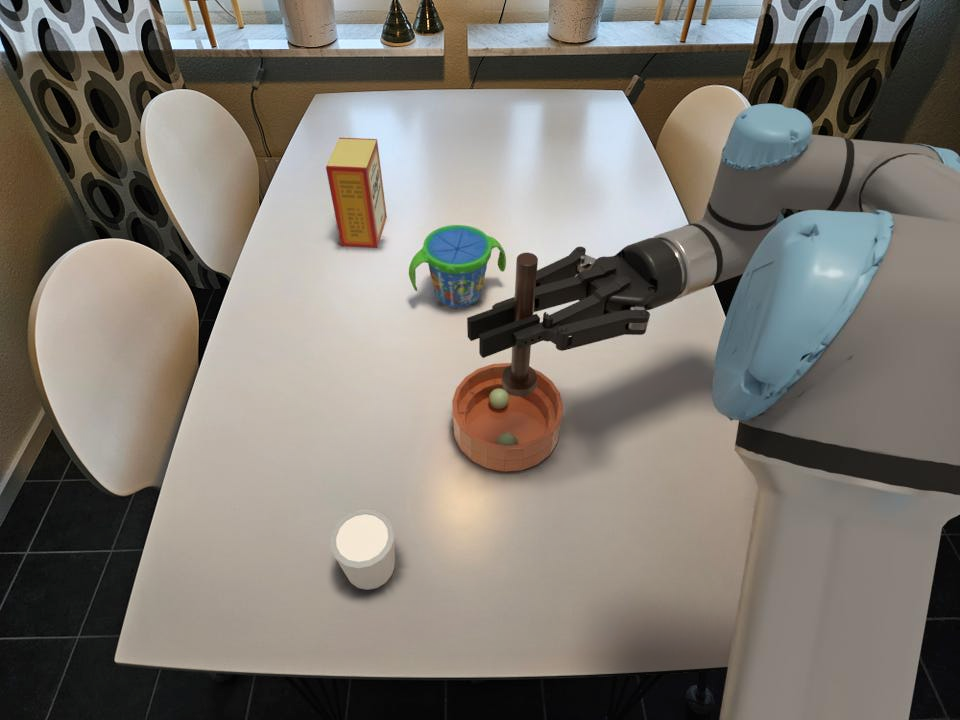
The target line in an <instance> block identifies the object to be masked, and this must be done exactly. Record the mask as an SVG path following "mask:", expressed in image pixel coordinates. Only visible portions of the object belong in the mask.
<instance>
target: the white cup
mask: <svg viewBox="0 0 960 720" xmlns="http://www.w3.org/2000/svg"><path fill="white" fill-rule="evenodd" d="M329 540H330V541H329V542H330V551H331V553H332V554H333V556H334V558H335V559H336V561H337V563H338V564H339V566H340V568H341V570H342V571H343V573H344V575H345V576H346V577H347V579H348V581H349V583H351V584H352V585H353V586H354V587H356V588H357V589H362V590H366V591H368V590H374V589H378V588H380V587H381V586H383V585H385V584H386V583H387V582H388V581H389V580H390V578H391V577H392V576H393V573H394V569H395V567H396V559H395V558H396V557H395V555H396V554H395V532H394V525H393V524H392V523H391V520H390V519H389V518H388V516H386V515H384V514H383V513H382V512H380V511H378V510H373V509H369V508H364V509H358V510H353V511H352V512H349V513H347V514H346V515H344V516H342V518H341V519H340V520H339V521H338V522H337V523H336V524H335V525H334V527H333V530H332V532H331V534H330V537H329Z"/></svg>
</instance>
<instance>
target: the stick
mask: <svg viewBox="0 0 960 720" xmlns="http://www.w3.org/2000/svg"><path fill="white" fill-rule="evenodd" d="M515 263H516V264H515V265H516V267H515V283H514V297H515V301H514V321H513V322H515V321H518V320H520V319H523V318H526V317H530V316H531V315H534V314H535V312H534V302H535V289H536V277H537V270H538V264H539V259H538V256H537V255H536V254H535V253H532V252H522V253H520V254H518V255H517V256H516V262H515ZM531 348H532V345H530V346H527V347H525V348H522V349H517V348H516V347H515V346H514V347H511V362H510V363H511V365H510V366H508V367H507V368H506V369H505V370H504V371H503V373H502V387H503V389H504V390H505V391H506V392H507V393H509V394H510V395H513V396H518V397H522V396H527V395H529V394H531V393H532V392H533V391H534V390H535V388H536V385H537V374H536V372H535V370H536V369H535V368H533V367H532V366H530V362H531V352H532V351H531V350H532V349H531ZM534 369H535V370H534Z"/></svg>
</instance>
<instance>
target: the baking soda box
mask: <svg viewBox="0 0 960 720" xmlns="http://www.w3.org/2000/svg"><path fill="white" fill-rule="evenodd" d="M378 144H379V143H378V139H377V138H359V137H357V138H355V137H338V139H337V141H336V143H335V146H334V148H333V150H332V152H331V154H330V157H329V159H328V161H327V164H326V166H325V171H326V175H327V180H328V181H327V182H328V186H329V191H330V196H331V200H332V204H333V205H332V207H333V211H334V216H335V222H336V227H337V231H338V237H339V242H340V246H341V247H350V248H351V247H352V248H373V249H374V248H375V249H379V248H378V247H379V244H380V241H381V237H382V234H383V230H384V228H385V224H386V220H387V218H388V217H387V208H386V207H387V206H386V199H385V192H384V183H383V176H382V167H381V160H380V152H379V145H378Z"/></svg>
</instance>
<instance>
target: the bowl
mask: <svg viewBox="0 0 960 720" xmlns="http://www.w3.org/2000/svg"><path fill="white" fill-rule="evenodd" d="M510 365H511V362H502V363H492V364H488V365H485V366H482V367H480V368H476V369H475V370H473V372H471V373H470V374H467V375H466V376H465V377H464V378H463V380H461V382H460V383H459V385H458V386H457V387H456V388H455V390H454V395H453V397H452V401H451V407H452V408H451V409H452V424H453V425H452V427H453V438H454V440H455V442H456V443H457V445H458V447H459V450H460V451H461V452H463V453H464V455H465V456H466V457H468V458H469V460H471V461H472V462H474V463H476V464H478V465H480V466H482V467H484V468H486V469H489V470H494V471H499V472H515V471H523V470H526V469H529V468H531V467H534V466H537V465H539V464H540V463H541V462H542V461H544V460H545V459H547V457H549V456H550V455H551V454H552V452H553V450H554V449H555V448H556V445H557V444H558V442H559V437H560V431H561V426H562V419H563V418H562V417H563V412H564V411H563V410H564V404H563V399H562V395H561V392H560V391H559V389H558V387H557V386H556V385H555V383H554V381H553V380H552V379H550V378H549V377H548V376H546V374H544V373H542V372H541V371H540V370H537V369H535V368H533V369H534V370H535V372H536V374H537V385H536V388H535V390H534V391H533V392H532V393H531V394H529V395H527V396H522V397H518V396H513V395H510V394H509V393H508V395H509V402H508V404H507V406H506V407H504V408H502V409H497V408H494V407H493V406H492V405H491V404H490V402H489V395H490V393H491V392H492V391H493V390H494V389H498V388H501V389H503V387H502V373H503V371H504V370H505V369H506V368H507V367H508V366H510ZM503 433H511V434H513V435H514V436H515V437H516V438H517V440H518V445H509V446H504V445H499V444H496V442H497V439H498V437H499V436H500V435H501V434H503Z"/></svg>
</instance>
